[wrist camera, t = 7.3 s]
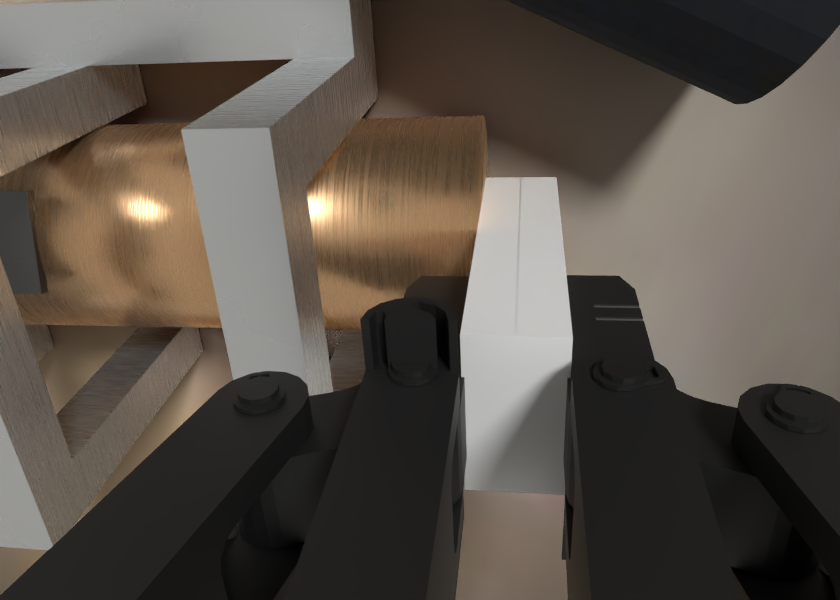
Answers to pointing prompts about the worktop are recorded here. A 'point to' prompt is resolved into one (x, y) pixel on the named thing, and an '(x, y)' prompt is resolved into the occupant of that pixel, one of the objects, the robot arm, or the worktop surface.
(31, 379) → the grey slatted rack
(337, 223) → the tube
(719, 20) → the pipe connector
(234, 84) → the worktop surface
